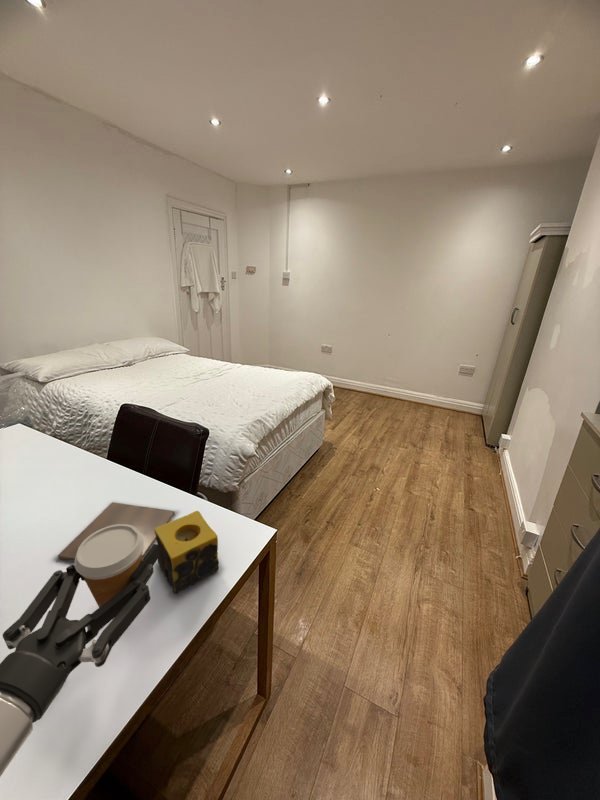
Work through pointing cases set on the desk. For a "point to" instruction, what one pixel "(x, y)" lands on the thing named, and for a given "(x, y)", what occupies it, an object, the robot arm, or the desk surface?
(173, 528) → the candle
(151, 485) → the desk surface
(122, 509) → the placemat
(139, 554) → the disposable coffee cup
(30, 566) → the desk surface
